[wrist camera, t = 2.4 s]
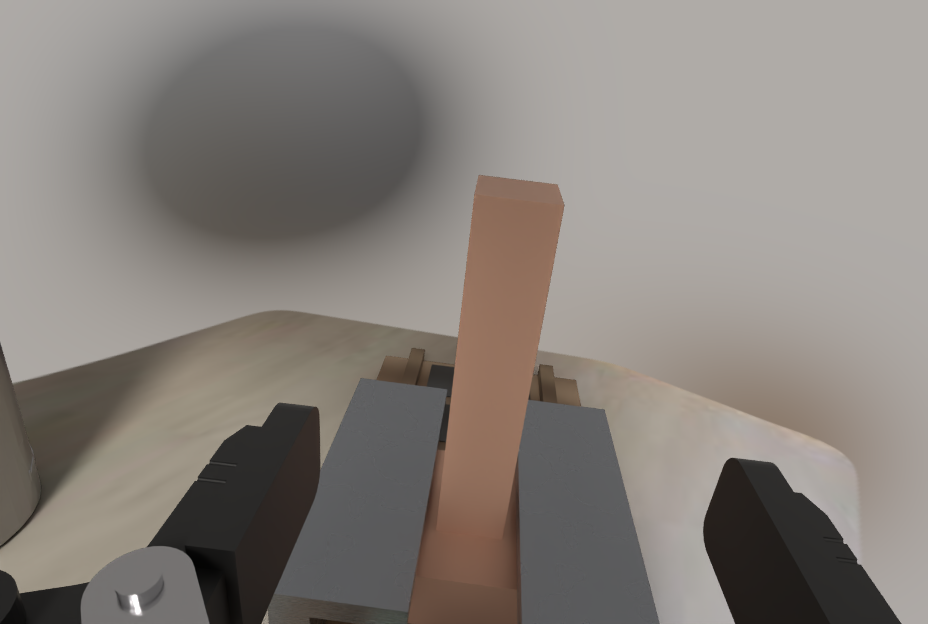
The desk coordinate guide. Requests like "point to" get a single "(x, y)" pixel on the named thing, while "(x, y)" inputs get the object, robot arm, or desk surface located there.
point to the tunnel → (406, 502)
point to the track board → (442, 377)
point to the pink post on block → (488, 408)
